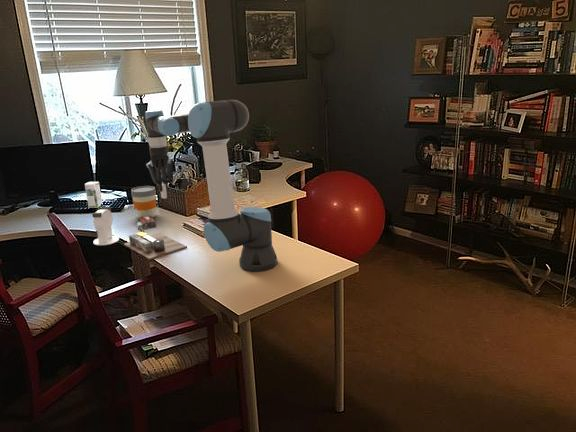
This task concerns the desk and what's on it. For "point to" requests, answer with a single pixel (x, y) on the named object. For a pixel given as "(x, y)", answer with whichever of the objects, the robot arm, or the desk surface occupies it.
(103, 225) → the white figurine
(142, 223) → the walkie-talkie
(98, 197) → the syrup box
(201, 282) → the desk surface
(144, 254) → the board
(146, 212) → the reusable coffee cup
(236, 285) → the desk surface
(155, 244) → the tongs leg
